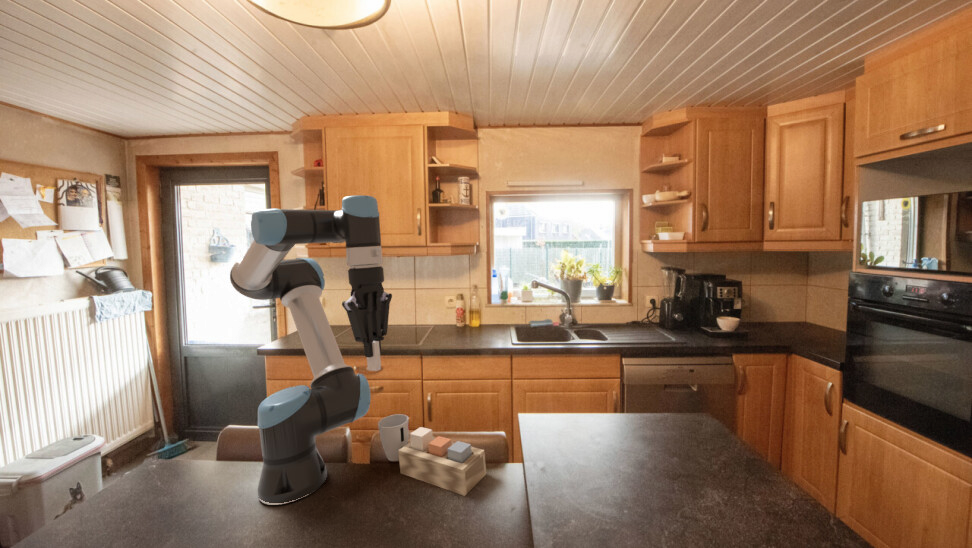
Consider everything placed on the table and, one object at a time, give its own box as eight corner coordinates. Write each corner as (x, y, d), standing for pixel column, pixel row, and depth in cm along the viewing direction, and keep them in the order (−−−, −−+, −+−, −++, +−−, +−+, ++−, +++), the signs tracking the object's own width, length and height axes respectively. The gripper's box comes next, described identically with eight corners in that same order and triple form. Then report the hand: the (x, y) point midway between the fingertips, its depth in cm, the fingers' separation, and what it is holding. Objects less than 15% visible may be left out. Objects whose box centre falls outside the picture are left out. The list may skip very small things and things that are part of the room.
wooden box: (400, 473, 94) (398, 450, 93) (424, 455, 101) (422, 433, 101) (464, 495, 83) (462, 469, 83) (486, 473, 90) (484, 450, 90)
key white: (412, 456, 95) (409, 433, 94) (422, 448, 98) (420, 426, 98) (423, 460, 92) (421, 436, 92) (434, 452, 96) (432, 429, 95)
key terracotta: (430, 467, 91) (428, 443, 91) (440, 458, 95) (438, 436, 94) (443, 471, 89) (440, 447, 89) (453, 462, 93) (451, 439, 92)
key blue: (449, 473, 88) (447, 448, 88) (459, 464, 91) (457, 440, 91) (463, 477, 86) (460, 452, 86) (473, 468, 89) (470, 444, 89)
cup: (404, 465, 97) (400, 427, 97) (376, 463, 99) (372, 427, 98) (416, 448, 105) (413, 414, 105) (390, 447, 107) (386, 414, 106)
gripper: (354, 268, 76) (364, 381, 77) (398, 263, 87) (406, 362, 89) (329, 269, 79) (339, 377, 81) (375, 264, 91) (383, 359, 92)
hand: (374, 369), depth 85 cm, fingers closed
